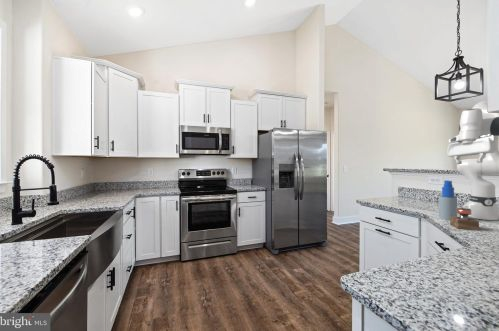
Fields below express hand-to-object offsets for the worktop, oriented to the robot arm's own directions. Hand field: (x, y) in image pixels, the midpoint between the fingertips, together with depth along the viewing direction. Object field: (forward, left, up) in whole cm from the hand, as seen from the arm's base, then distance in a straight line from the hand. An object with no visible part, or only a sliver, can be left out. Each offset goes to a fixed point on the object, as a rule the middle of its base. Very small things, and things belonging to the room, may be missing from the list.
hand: (468, 163), depth 118 cm
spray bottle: (-32, +4, -37) cm, 49 cm away
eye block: (-12, +3, -37) cm, 39 cm away
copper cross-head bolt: (-12, +3, -37) cm, 39 cm away
